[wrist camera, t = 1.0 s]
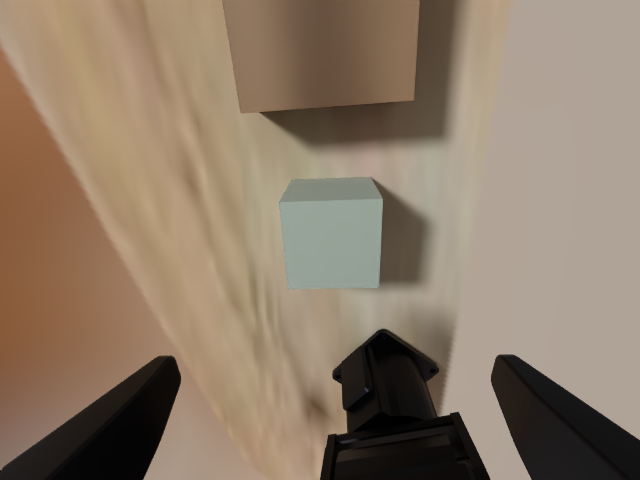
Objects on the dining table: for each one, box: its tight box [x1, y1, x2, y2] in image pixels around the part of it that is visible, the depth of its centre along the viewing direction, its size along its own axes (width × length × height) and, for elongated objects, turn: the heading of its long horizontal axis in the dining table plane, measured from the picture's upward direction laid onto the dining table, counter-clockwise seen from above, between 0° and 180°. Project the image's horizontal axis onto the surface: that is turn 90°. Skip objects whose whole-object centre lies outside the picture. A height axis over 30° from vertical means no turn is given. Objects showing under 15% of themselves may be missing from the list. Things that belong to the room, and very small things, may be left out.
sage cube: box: [279, 177, 383, 289], centre depth 17 cm, size 5×5×5 cm
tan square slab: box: [222, 0, 420, 113], centre depth 14 cm, size 8×8×4 cm
